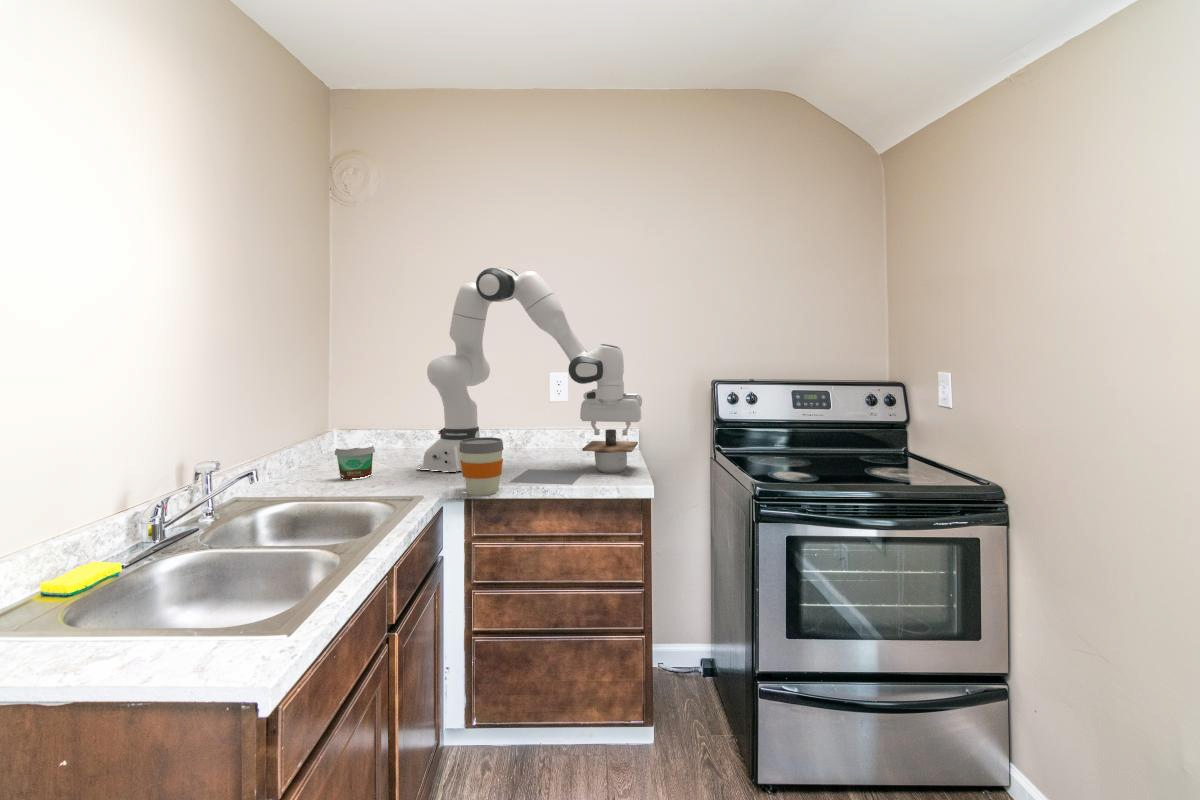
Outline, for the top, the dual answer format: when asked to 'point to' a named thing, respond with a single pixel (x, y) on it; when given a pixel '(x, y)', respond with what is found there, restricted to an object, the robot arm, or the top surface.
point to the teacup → (610, 461)
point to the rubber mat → (548, 476)
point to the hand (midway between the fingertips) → (610, 435)
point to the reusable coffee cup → (481, 464)
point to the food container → (355, 462)
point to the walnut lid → (610, 444)
